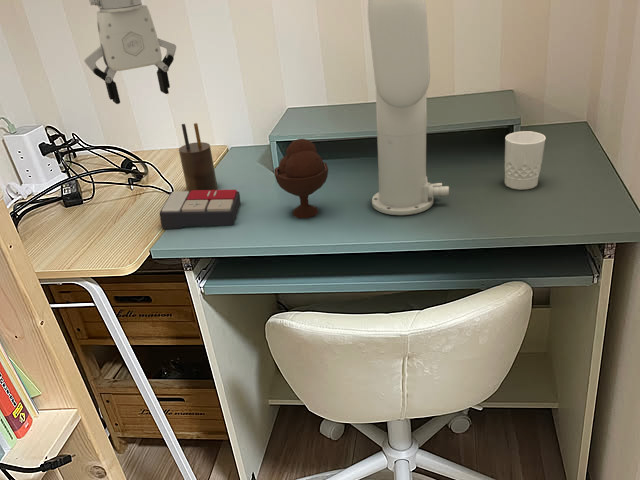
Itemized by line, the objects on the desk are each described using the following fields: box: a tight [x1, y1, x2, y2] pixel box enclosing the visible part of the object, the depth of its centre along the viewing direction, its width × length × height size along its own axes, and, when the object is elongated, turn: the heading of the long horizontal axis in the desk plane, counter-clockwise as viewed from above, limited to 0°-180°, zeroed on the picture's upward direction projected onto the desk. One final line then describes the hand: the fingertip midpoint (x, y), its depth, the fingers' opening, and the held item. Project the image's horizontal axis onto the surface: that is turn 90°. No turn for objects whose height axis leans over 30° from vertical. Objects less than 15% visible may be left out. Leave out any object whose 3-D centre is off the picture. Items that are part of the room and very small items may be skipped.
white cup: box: [504, 130, 547, 191], centre depth 134 cm, size 8×8×10 cm
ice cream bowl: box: [274, 138, 329, 219], centre depth 129 cm, size 11×11×15 cm
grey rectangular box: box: [159, 189, 242, 230], centre depth 135 cm, size 11×4×15 cm
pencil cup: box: [178, 122, 218, 192], centre depth 145 cm, size 7×7×16 cm
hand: (141, 97), depth 125 cm, fingers open, 9 cm apart
